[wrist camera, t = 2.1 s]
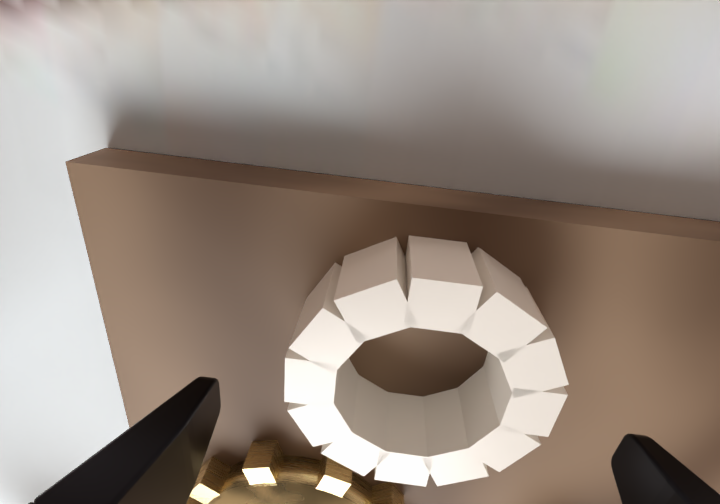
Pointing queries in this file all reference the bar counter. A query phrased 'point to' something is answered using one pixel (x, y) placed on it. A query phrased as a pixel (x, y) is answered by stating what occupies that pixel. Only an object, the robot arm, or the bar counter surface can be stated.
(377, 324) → the ring gear
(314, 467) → the brass drive gear
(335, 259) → the gear board
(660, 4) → the bar counter surface
